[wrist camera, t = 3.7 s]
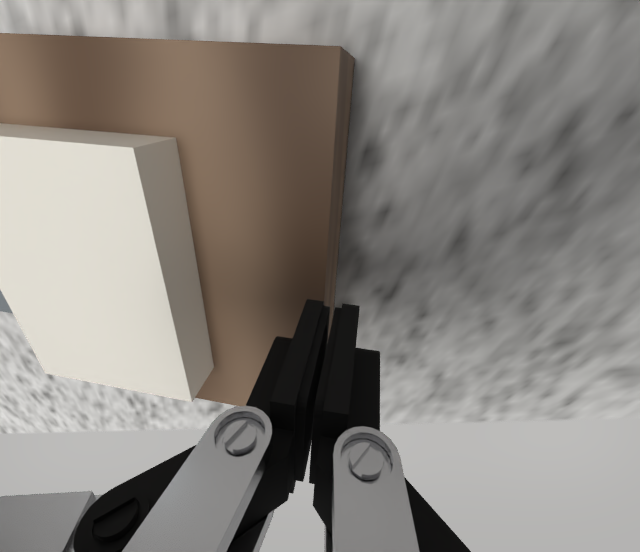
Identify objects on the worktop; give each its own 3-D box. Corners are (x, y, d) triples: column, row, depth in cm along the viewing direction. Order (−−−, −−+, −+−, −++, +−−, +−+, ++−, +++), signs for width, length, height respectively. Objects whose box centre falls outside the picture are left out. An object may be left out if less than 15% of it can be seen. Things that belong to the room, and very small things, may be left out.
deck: (354, 58, 12) (340, 46, 8) (329, 362, 19) (316, 421, 16) (18, 43, 13) (-107, 28, 10) (116, 326, 21) (64, 372, 18)
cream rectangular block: (175, 137, 10) (133, 147, 8) (214, 367, 15) (192, 402, 14) (-15, 122, 11) (-87, 128, 9) (81, 343, 16) (45, 373, 14)
